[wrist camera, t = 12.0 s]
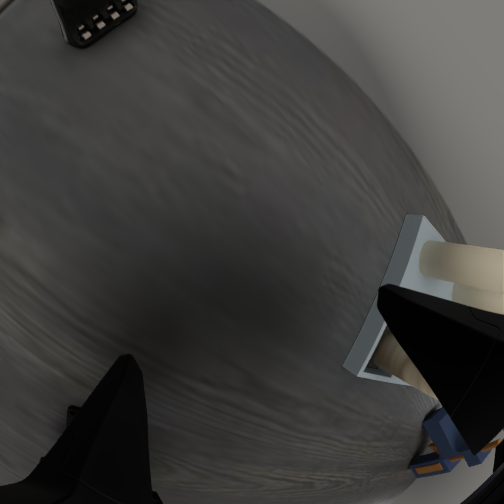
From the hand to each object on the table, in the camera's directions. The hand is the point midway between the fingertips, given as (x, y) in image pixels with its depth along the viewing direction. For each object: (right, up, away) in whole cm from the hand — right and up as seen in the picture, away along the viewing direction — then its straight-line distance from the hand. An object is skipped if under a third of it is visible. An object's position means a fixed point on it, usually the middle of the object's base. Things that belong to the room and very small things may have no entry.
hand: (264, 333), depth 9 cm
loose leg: (+13, -8, +19) cm, 25 cm away
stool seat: (+20, -5, +22) cm, 30 cm away
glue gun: (+36, -38, +32) cm, 62 cm away
